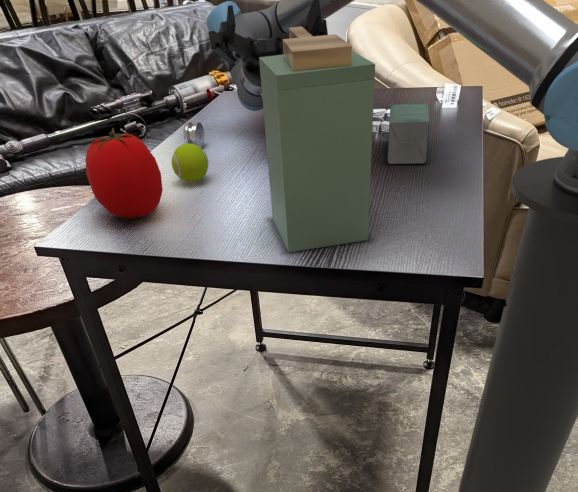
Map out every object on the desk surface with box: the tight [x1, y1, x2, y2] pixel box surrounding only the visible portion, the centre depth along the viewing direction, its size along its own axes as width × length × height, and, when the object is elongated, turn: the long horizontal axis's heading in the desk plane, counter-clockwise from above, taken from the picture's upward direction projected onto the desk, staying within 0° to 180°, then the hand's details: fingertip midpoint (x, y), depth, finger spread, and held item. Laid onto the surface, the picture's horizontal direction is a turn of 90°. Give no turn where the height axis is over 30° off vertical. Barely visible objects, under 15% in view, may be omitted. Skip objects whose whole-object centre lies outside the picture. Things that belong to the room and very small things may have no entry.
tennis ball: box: [171, 143, 209, 183], centre depth 97 cm, size 7×7×7 cm
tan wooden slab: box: [283, 26, 353, 71], centre depth 69 cm, size 22×7×2 cm, turn 8°
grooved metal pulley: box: [183, 121, 206, 149], centre depth 113 cm, size 5×3×5 cm, turn 166°
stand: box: [259, 50, 376, 253], centre depth 73 cm, size 12×12×22 cm
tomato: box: [85, 127, 164, 220], centre depth 85 cm, size 12×12×13 cm
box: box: [387, 103, 431, 165], centre depth 102 cm, size 7×14×8 cm, turn 171°
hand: (275, 10), depth 81 cm, fingers open, 13 cm apart
